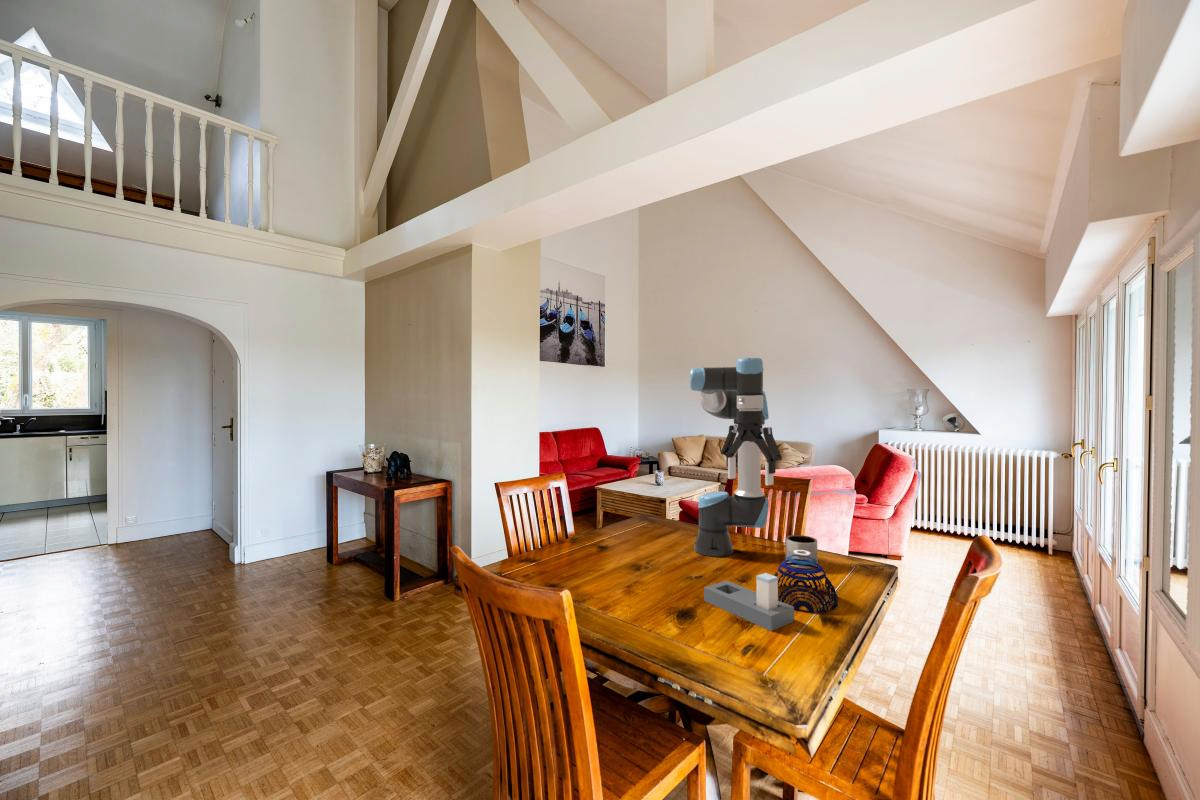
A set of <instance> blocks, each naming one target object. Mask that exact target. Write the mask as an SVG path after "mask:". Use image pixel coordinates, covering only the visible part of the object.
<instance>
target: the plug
mask: <svg viewBox="0 0 1200 800" xmlns="http://www.w3.org/2000/svg"><path fill="white" fill-rule="evenodd" d="M773 575H774V574H773ZM773 575H772V574H771V573H770V574H769V573H767V572H764V573H760V574H758V575H756V576H755V577H756V579H755V580H756V591H755V592H756V598H757V606H759V607H761V608H764V609H766V610H769V611H770V610H773V609H775V608H778V600H779V593H778V592H779V591H778V590H779V588H778V580H779V576H778V577H776V576H773Z"/></svg>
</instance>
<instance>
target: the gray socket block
mask: <svg viewBox="0 0 1200 800" xmlns="http://www.w3.org/2000/svg"><path fill="white" fill-rule="evenodd" d="M703 601H704V602H706V603H708V604H711V605H712V606H715V607H716V608H719V609H721V610H724V611H726V612H728V613H730V614H732V615H734V616H737V617H739V618H741V619H743V620H745V621H748V622H750V623H753V624H754V625H757V626H759V627H761V628H762V629H765V630H768V631H770V632H772V631H773V632H774V630H777V629H779V628H782V627H784V626H786V625H789V624H791V623H793V622H795V611H794V607H793V606H792V604H790V605H788V604H789V603H786V602H784V603H783V602H780V601H778V608H775V609H773V610H770V611H769V610H766V609H764V608H761V607H759V606H757V598H756V591H754V590H752V589H749V588H746V587H745V586H741V585H739V584H737V583H735V582H732V581H728V580H724V581H721V582H717V583H714V584H711V585H708V586H705V587H703ZM785 603H786V604H785Z"/></svg>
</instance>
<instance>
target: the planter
mask: <svg viewBox="0 0 1200 800" xmlns="http://www.w3.org/2000/svg"><path fill="white" fill-rule="evenodd" d="M794 550H805V551H808V552H810V555H809V556H810V557H812V558H814V559H816V560H817V562H816V563H817V564H819V562H818V561H819V560H818V539H816V538H815V537H812V536H808V535H802V534H801V535H799V534H794V535H793V534H791V535H787V536H786V537H785V560H787V557H789V556H790V555H796V554H794V553H793V551H794ZM797 553H801V554H806V553H805V552H797ZM792 559H800V560H809V561H812V559H811V558H808V557H800V556H794V557H792ZM801 562H803V561H801ZM785 563H788V562H785ZM789 563H791V562H790V561H789ZM811 565H815V564H811ZM788 566H789V567H792V568H805V569H807V570H814V568H813V567H808V566H801V565H788ZM815 566H817V565H815ZM817 567H818V566H817Z"/></svg>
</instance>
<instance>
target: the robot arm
mask: <svg viewBox="0 0 1200 800" xmlns="http://www.w3.org/2000/svg"><path fill="white" fill-rule="evenodd" d="M763 363H764V362H763V359H762V358H759V357H742V358H738V359H737V360H736V366H728V367H727V366H724V367H721V366H719V367H703V366H702V367H694V368H692V369H691V370H690V372H689V373H690V375H689V385H690V389H691V391H694V392H699V393H700V395H701V396H700V403H701V406H702V408H703V410H704V411H705V412H706V413H708V414H710V415H711V416H714V417H716V418H718V419H723V420H733V424H732V425H729V426H728V433H727V436H726V438H725V441H724V444H723V446H722V448H721V450H720V454H721V455H724V456H725V457H726V467H727V479H729V480H733V479H737V489H735V490H734V491H733V496H732V495H731V496H730V495H729V492H727V491H710V492H705V493H703V494H701V495H700V496H699V498H698V505H697V508H698V532H697V535H696V538H695V541H694V545H693V546H694V548H693V549H694V551H695V553H696V554H697V553H698V554H700V555H702V556H707V557H708V556H709V557H726V556H730V555H733V553H734V546H733V544H732V541H731V537H730V533H729V527H739V528H741V527H742V528H751V529H757V528H758V529H761V528H762V529H763V528H764V527H765V526H766V524H767V520H768V514H769V504H770V503H769V502H770V500H769V498H768V497H765V496H766V495H765V492H764V490H762V486H761V483H762V482H761V478H762V477H761V476H762V475H761V473H762V472H761V471H762V470H761V469H762V467H761V464H762V463H761V460H762V458H761V457H762V456H761V453H762V455H763V456H764V457H765V459H766V461H765V462H764V466H765V467H764V474H765V475H764V477H765V478H764V484H765V486H772V485H774V474H776V463H777V462H778V461H781V460H782V459H783V456H782V454H781V452H780V450H779V447H778V445H777V442H776V441H775V438H774V435H773V428H772V427H771V426H769V427H764V426H765V423H766V422H765V421H768V419H769V417H770V416H769V409H768V402H767V395H766V392H765V391H764V364H763ZM736 453H737V457H736V456H735V454H736Z"/></svg>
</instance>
